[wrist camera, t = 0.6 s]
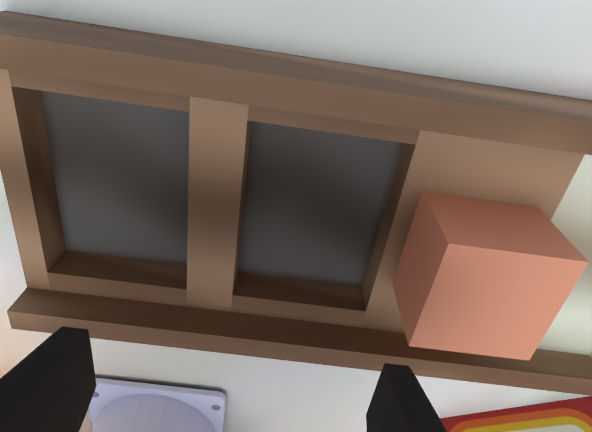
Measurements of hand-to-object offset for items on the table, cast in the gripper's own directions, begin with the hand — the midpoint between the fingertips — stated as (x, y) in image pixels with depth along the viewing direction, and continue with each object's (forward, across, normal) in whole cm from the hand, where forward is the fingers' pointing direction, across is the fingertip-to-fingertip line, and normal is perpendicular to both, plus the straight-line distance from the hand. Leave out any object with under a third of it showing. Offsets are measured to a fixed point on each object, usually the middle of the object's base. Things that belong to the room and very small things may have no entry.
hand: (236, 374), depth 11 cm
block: (+7, -8, 0) cm, 11 cm away
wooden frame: (+9, -4, 0) cm, 10 cm away
